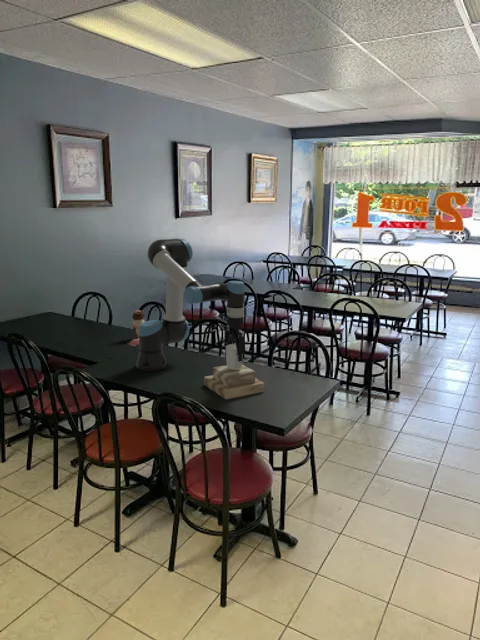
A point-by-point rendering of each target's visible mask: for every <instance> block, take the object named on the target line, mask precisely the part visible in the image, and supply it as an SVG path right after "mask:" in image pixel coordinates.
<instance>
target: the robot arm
mask: <svg viewBox="0 0 480 640" xmlns="http://www.w3.org/2000/svg"><path fill="white" fill-rule="evenodd" d="M193 254H194V253H193V248H192V246H191V244H190V241H188V240H186V238H185V239H184V238H169V239H168V238H166V239H165V238H164V239H156V240H154V241H153V242H152V243H151V244H150V245H149V247H148V250H147V258H148V261H149V263H150V264H151V265H152V266H153V267H154V268H155V269H158V270H160V271H161V272H163V274H165V276H166V288H165V289H166V290H165V291H166V294H165V296H166V297H165V314H164V315H163V316H162V320H159V319H153V320H152V319H150V320H146V321H145V322H143V323H142V324H141V325H140V326H139V344H138V347H139V352H138V357H137V360H136V362H135V363H136V367H135V368H136V369H138V370H140V371H142V372H143V371H144V372H157V371H161V370H163V369H165V368H167V360H166V357H165V355H164V351H163V347H164V345H169V344H175V343H180V342H183V341H185V340H186V339H188V337H189V335H190V325H189V322H188V321H187V320H186V317H185V316H184V315H183V311H184V308H183V305H184V304H183V303H184V299H185V302H187V303H188V304H191V305H192V304H197V305H198V304H202V303H206V302H207V303H208V302H214V301H225V302H226V325H225V326H224V331H225V332H224V341H223V342H224V343H223V346H224V347H226V346H227V345H230V344H236V348H237V354H236V368H242V365H243V358H242V355H243V356H244V355H245V354H246V337H245V336H246V331H242V326H243V325H244V320H245V319H244V315H245V291H246V290H245V283H244V281H240V280H230V281H228V282H227V283H223V282H220V281H218V282H217V281H214V282H211V283H210V284H209V283H208V284H201V283H200V282H199V281H197V279H195V278H194V276H192V275H191V274H190V273H189V272H187V271H186V269H187V268H188V263H189V262H191V261H192V259H193ZM234 342H235V343H234Z"/></svg>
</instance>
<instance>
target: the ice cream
mask: <svg viewBox="0 0 480 640" xmlns="http://www.w3.org/2000/svg"><path fill="white" fill-rule="evenodd" d="M144 318H145V314H144V313H143V311H142V310H140V309H137V310H134V311H133V314H132V319H133V320H132V321H131V323H132V325H133V327H134V328H135V333H136V335H137V338H134V339H132V340H131V341H129V342H128V345H129V346H132V347H133V346H134V347H136V346H139V326H140V325H141V324H142V323H143V322H146V321H145V320H144Z"/></svg>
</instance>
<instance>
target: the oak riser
mask: <svg viewBox="0 0 480 640" xmlns="http://www.w3.org/2000/svg"><path fill="white" fill-rule="evenodd" d="M256 374H257V373H256V371H255V370H254V369H251V368H250V367H248V366H246V365H244V364H242V368H241V369H238V370H231V369H228V368H227V364H226V365H219V366H215V367H213V374H212V375H207V376H204V386H206V387H207V388H209V389H210V390H211V391H213V393H216V394H217V395H219V396H220V397H221V398H223V399H224V400H230V399H234V398H239V397H245V396H248V395H253V394H257V393H264V392H265V382H264V381H262V380H260V379H258V378H257V377H256Z"/></svg>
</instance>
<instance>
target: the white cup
mask: <svg viewBox="0 0 480 640" xmlns="http://www.w3.org/2000/svg"><path fill="white" fill-rule="evenodd" d="M236 354H237V348H236V343H233V344H230V345H227V346H225V358H226V359H225V360H226V362H225V363H226V365H227V368H228V369H231V370H238V369H241V368H236ZM243 356H244V354H243V355H242V359H243V358H244V357H243Z"/></svg>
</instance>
